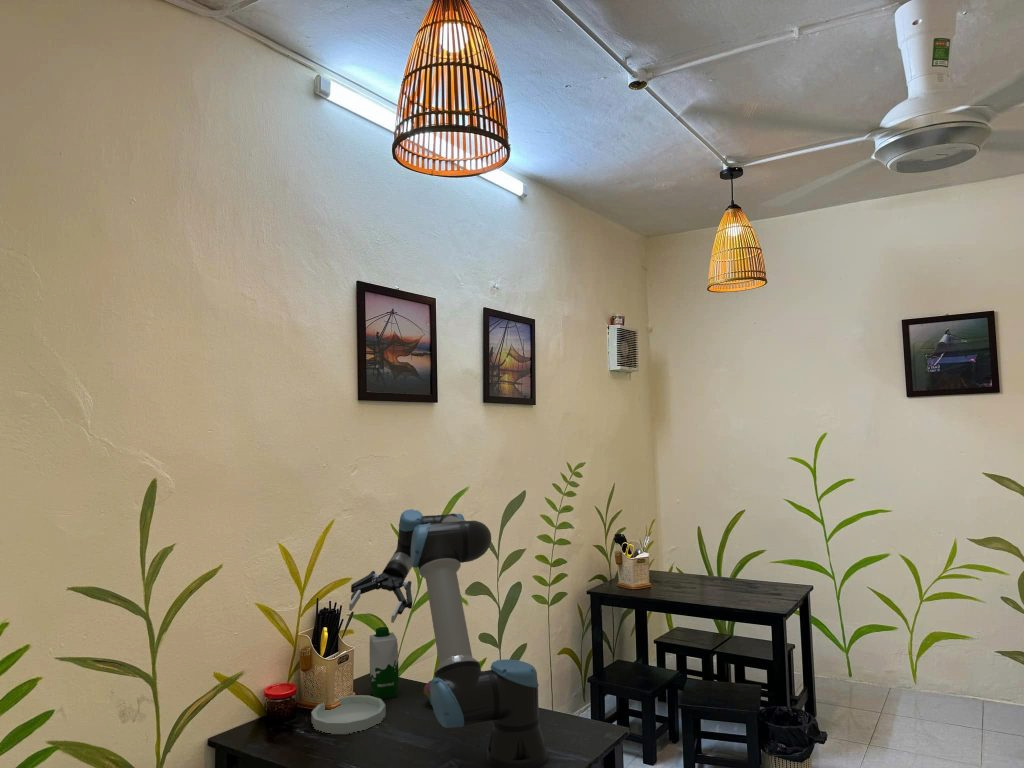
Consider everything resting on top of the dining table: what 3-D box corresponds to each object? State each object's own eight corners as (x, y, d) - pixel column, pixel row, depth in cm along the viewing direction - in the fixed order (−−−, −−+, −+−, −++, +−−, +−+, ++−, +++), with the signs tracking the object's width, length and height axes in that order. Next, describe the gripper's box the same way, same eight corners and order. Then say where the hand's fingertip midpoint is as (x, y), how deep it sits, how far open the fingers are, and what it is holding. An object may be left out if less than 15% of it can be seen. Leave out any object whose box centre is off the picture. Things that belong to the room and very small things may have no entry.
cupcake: (457, 701, 217) (456, 661, 218) (440, 711, 210) (439, 670, 210) (435, 697, 221) (434, 657, 222) (418, 706, 214) (417, 666, 215)
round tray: (399, 714, 209) (398, 703, 209) (345, 740, 192) (345, 728, 192) (352, 700, 221) (351, 690, 221) (297, 724, 204) (297, 713, 204)
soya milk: (395, 687, 230) (394, 625, 232) (400, 697, 222) (399, 632, 223) (368, 692, 228) (367, 628, 229) (372, 702, 219) (371, 636, 220)
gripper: (432, 588, 233) (409, 633, 214) (361, 568, 237) (332, 611, 217) (434, 570, 230) (411, 614, 211) (362, 550, 233) (333, 592, 214)
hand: (371, 613), depth 214 cm, fingers open, 13 cm apart
